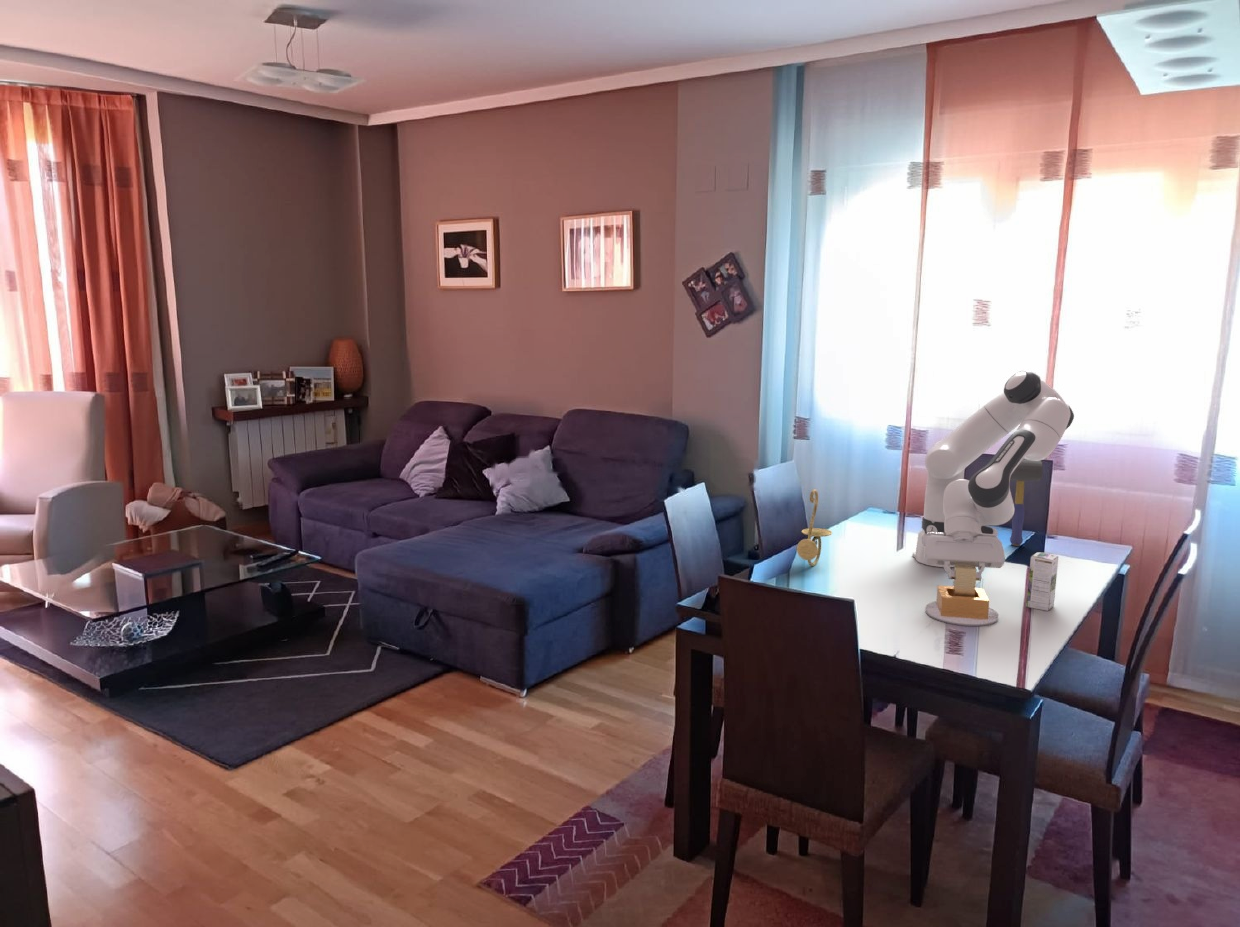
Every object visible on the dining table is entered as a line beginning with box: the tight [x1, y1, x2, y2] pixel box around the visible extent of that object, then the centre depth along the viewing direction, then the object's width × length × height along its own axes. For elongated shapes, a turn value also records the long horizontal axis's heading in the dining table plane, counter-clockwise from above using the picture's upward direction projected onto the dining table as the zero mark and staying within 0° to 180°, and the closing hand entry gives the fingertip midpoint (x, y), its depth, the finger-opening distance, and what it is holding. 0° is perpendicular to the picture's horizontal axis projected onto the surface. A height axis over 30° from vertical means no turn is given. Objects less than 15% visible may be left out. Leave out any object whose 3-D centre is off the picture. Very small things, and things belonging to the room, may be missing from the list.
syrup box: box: [1025, 551, 1060, 612], centre depth 239 cm, size 6×6×14 cm
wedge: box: [952, 564, 978, 597], centre depth 232 cm, size 4×5×9 cm
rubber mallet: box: [1009, 458, 1044, 547], centre depth 300 cm, size 12×8×30 cm, turn 74°
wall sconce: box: [796, 489, 833, 567], centre depth 277 cm, size 14×10×25 cm
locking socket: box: [925, 585, 999, 627], centre depth 233 cm, size 18×18×6 cm
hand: (965, 579), depth 231 cm, fingers closed on wedge, 5 cm apart
